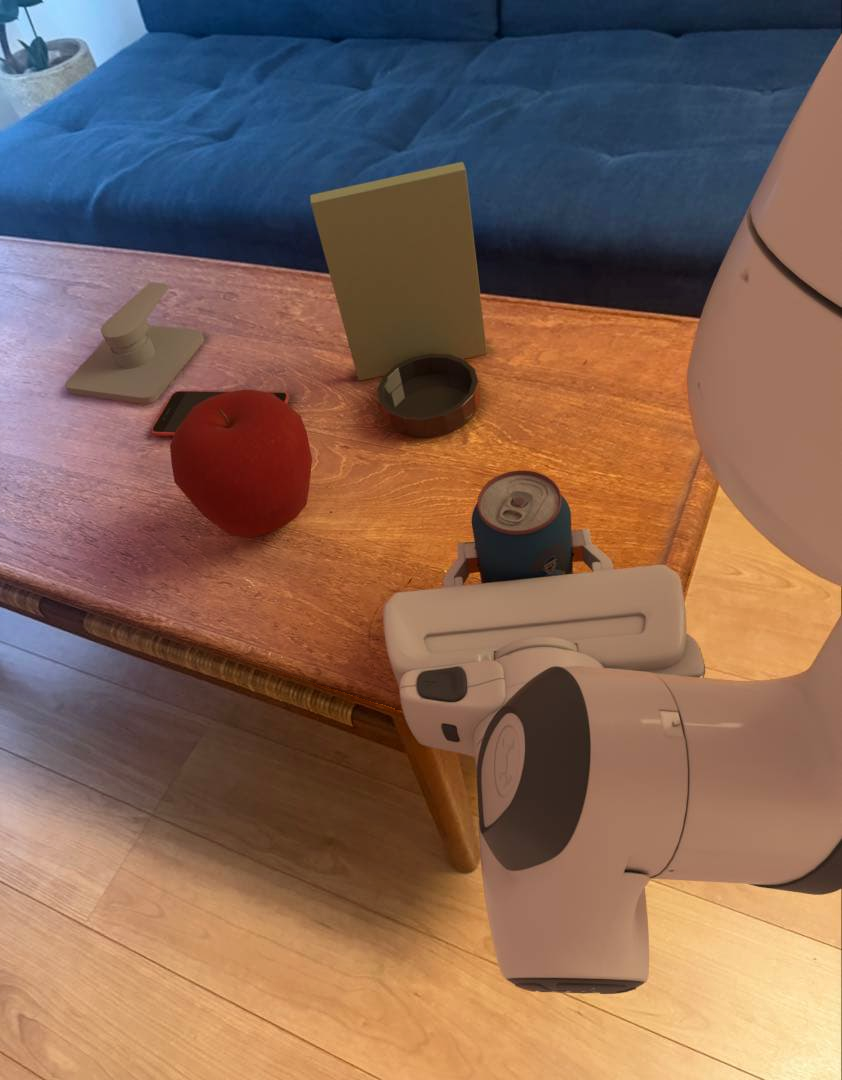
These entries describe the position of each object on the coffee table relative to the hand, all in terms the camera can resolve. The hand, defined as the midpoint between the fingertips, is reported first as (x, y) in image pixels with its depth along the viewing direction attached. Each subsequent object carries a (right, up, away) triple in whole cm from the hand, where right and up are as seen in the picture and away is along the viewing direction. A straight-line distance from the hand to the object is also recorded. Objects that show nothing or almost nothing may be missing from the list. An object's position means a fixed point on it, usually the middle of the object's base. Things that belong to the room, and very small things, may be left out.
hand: (522, 541), depth 60 cm
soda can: (+1, -5, +5) cm, 7 cm away
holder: (-6, +14, +23) cm, 27 cm away
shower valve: (-40, +21, +37) cm, 58 cm away
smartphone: (-29, +13, +27) cm, 41 cm away
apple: (-22, +2, +16) cm, 27 cm away
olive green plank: (-7, +19, +27) cm, 34 cm away
